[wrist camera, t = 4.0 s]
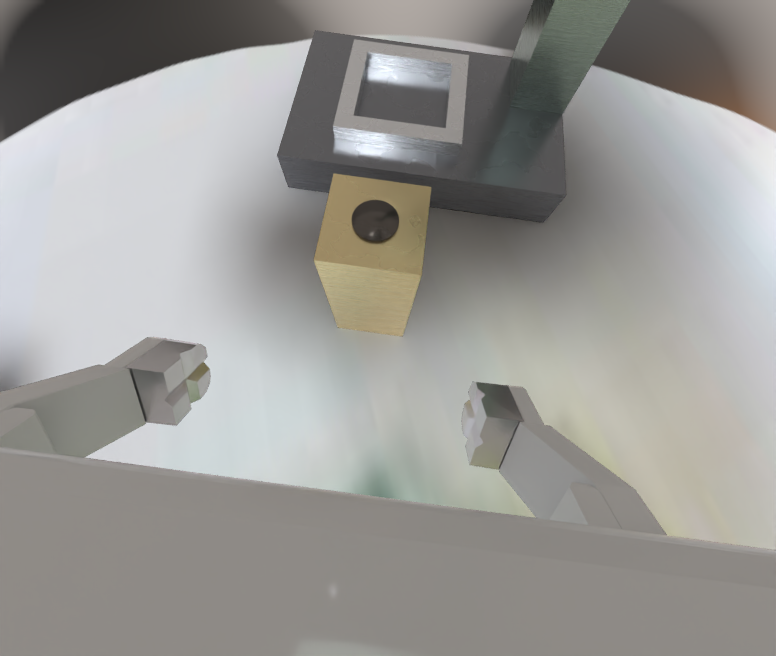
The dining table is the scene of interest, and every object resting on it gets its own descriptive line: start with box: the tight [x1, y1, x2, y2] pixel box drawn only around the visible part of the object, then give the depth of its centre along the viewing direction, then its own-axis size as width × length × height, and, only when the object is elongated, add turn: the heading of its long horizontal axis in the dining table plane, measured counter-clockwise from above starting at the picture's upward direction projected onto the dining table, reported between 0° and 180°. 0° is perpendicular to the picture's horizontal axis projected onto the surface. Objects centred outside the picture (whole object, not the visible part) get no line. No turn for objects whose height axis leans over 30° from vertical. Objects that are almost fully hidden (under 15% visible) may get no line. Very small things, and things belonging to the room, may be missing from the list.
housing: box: [314, 174, 431, 336], centre depth 18 cm, size 4×4×9 cm
